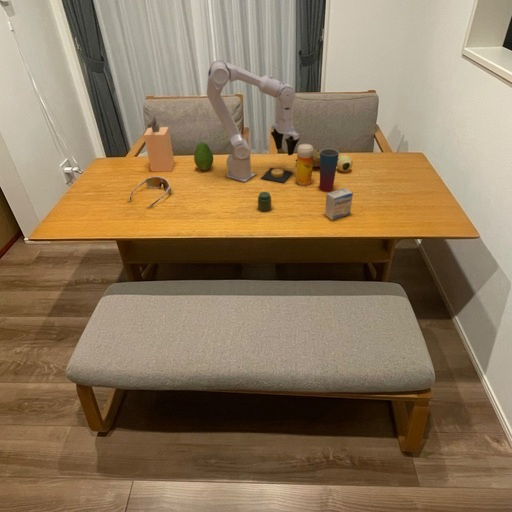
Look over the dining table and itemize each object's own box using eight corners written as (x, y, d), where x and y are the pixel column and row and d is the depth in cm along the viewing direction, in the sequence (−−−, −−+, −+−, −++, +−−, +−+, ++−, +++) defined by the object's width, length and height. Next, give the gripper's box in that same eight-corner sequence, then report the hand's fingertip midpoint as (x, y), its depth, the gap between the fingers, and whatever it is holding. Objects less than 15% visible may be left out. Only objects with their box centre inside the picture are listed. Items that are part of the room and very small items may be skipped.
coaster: (261, 179, 158) (261, 177, 158) (270, 169, 165) (270, 167, 165) (283, 183, 155) (283, 182, 154) (292, 173, 162) (292, 171, 161)
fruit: (206, 163, 171) (203, 137, 164) (218, 168, 167) (215, 141, 160) (192, 169, 167) (188, 142, 160) (203, 175, 163) (200, 147, 155)
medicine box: (331, 220, 132) (334, 198, 127) (324, 214, 135) (326, 193, 130) (350, 214, 135) (353, 192, 130) (342, 209, 138) (345, 187, 133)
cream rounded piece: (335, 167, 165) (336, 152, 161) (351, 167, 164) (353, 152, 160) (336, 173, 160) (337, 158, 156) (352, 174, 159) (354, 158, 155)
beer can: (310, 186, 152) (313, 150, 143) (295, 185, 153) (296, 149, 144) (311, 179, 157) (314, 143, 147) (297, 178, 158) (298, 142, 149)
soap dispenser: (155, 163, 173) (145, 113, 160) (174, 162, 173) (166, 113, 159) (149, 176, 163) (137, 124, 150) (169, 175, 163) (159, 123, 149)
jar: (255, 209, 140) (255, 195, 136) (262, 203, 143) (262, 189, 139) (266, 213, 137) (266, 199, 134) (273, 207, 140) (273, 193, 137)
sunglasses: (178, 190, 152) (175, 180, 148) (154, 213, 143) (150, 202, 140) (151, 183, 158) (147, 172, 154) (126, 204, 149) (122, 194, 145)
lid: (286, 175, 159) (286, 172, 158) (275, 178, 157) (275, 175, 156) (278, 170, 162) (278, 167, 161) (268, 174, 160) (268, 170, 159)
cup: (337, 186, 151) (341, 149, 142) (332, 194, 147) (336, 157, 137) (320, 183, 154) (323, 147, 145) (315, 190, 149) (317, 154, 140)
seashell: (330, 174, 162) (335, 151, 156) (296, 172, 161) (299, 149, 155) (326, 163, 171) (330, 141, 165) (293, 161, 170) (296, 139, 164)
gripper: (305, 120, 145) (303, 154, 153) (281, 110, 154) (281, 143, 163) (291, 124, 142) (290, 159, 150) (267, 114, 151) (268, 147, 160)
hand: (284, 151), depth 156 cm, fingers open, 7 cm apart
